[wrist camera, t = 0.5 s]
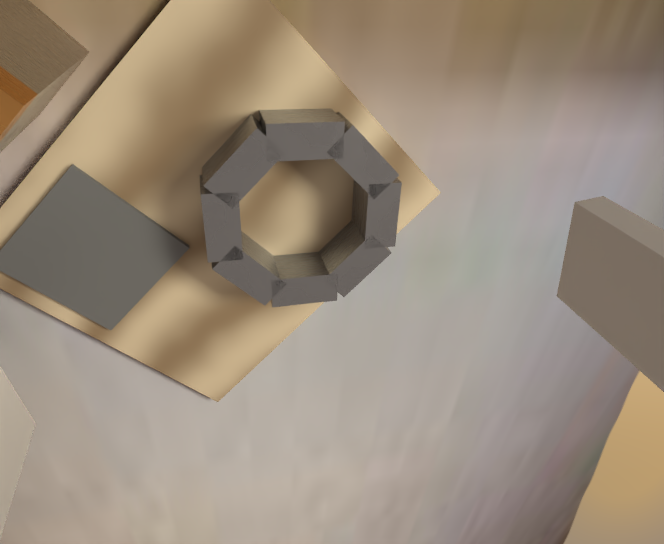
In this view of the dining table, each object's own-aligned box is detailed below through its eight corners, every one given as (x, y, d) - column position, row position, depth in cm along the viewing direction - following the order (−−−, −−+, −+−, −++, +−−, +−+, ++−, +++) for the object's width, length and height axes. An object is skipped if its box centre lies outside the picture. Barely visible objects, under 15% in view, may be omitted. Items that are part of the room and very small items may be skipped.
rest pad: (-10, 261, 33) (-12, 264, 33) (72, 163, 31) (71, 165, 31) (111, 327, 38) (111, 330, 38) (189, 245, 36) (189, 248, 36)
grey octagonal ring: (162, 210, 34) (159, 233, 31) (295, 64, 32) (306, 74, 29) (296, 307, 41) (304, 333, 38) (415, 194, 38) (434, 212, 35)
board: (-42, 258, 33) (-46, 264, 33) (217, -58, 28) (218, -59, 27) (217, 395, 45) (217, 402, 44) (436, 188, 39) (440, 192, 39)
